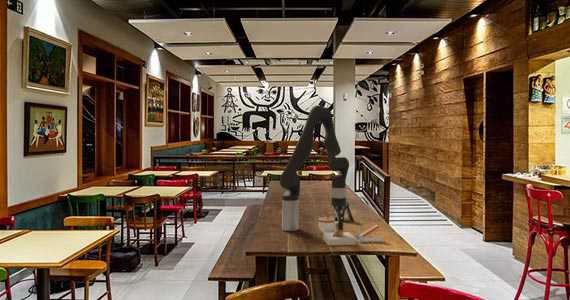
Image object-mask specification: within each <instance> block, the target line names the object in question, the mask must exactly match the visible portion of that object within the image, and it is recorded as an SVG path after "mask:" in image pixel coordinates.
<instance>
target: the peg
mask: <svg viewBox="0 0 570 300" xmlns="http://www.w3.org/2000/svg"><path fill="white" fill-rule="evenodd" d="M343 232H344V228H343V229H342V230H339V229H338V221H334V232H333V233H334V237H343Z"/></svg>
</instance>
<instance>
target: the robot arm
mask: <svg viewBox="0 0 570 300" xmlns="http://www.w3.org/2000/svg"><path fill="white" fill-rule="evenodd" d="M317 124H321V125H322V126H323V128H324V131H325V133H324V137H323V143H324V147H325V150H326V153H327V166H328V169H329V170H330V171H331V172H338V174H336V175H334V176H332V178H331V195H330V196H331V201H330V202H331V204H330V205H331V206H333V217H334V218H335V221H338V229H339V230H342V229H343V230H344V223H345V222H344V219H345V214H344V210H342V207H343V206H346V202H347V190H346V189H347V188H346V184H347V183H346V180H347V176H348V172H349V169H350V162H349V160H348V158H347V157H345V156H342V157H339V155H340V154H341V151H342V150H341V147H340V143H339V141H338V138H337V135H336V130H335V125H334V119H333V114H332V112H331V110H330V109H329V108H328V107H325V106H322V105H314V106H312V108H311V109H310V110H309V113H308V116H307V119H306V122H305V124H304V127H303V130H302V133H301V134H300V136H299V139H298V141H297V143H296V145H295V147H294V150H293V152H292V155H291V156H290V158H289V160H288V163H287V165H286V166H285V168H284V170H283V171H282V173H281V175H280V177H279V185H280V186H281V188H282V189H285V191H284V193H283V194H282V198H281V199H282V201H281V203H282V205H281V206H282V213H281V230H282V231H285V232H286V231H288V232H290V231H291V232H294V231H295V232H296V231H298V230H299V197H300V193H301V191H300V190H301V178H300V175H299V174H298V171H299V169H300V168H301V167H302V166H303V165H304V163H305V162H306V161H307V160H308V159H309V158H310V155H311V154H312V151H313V149H314V146H315V139H314V132H315V128H316V126H317ZM337 156H338V157H337ZM340 218H341V219H340Z"/></svg>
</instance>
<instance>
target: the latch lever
mask: <svg viewBox="0 0 570 300" xmlns="http://www.w3.org/2000/svg"><path fill="white" fill-rule="evenodd" d="M379 228H380V226H379V225H378V224H375V225H373V226H371V227H370V228H368V229H367V230H364V231H363V232H362V233H361V232H360V235H358V238H359V236H363V238H366V236H369V234H371V233H373V232H374V231H376V230H378V229H379Z"/></svg>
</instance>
